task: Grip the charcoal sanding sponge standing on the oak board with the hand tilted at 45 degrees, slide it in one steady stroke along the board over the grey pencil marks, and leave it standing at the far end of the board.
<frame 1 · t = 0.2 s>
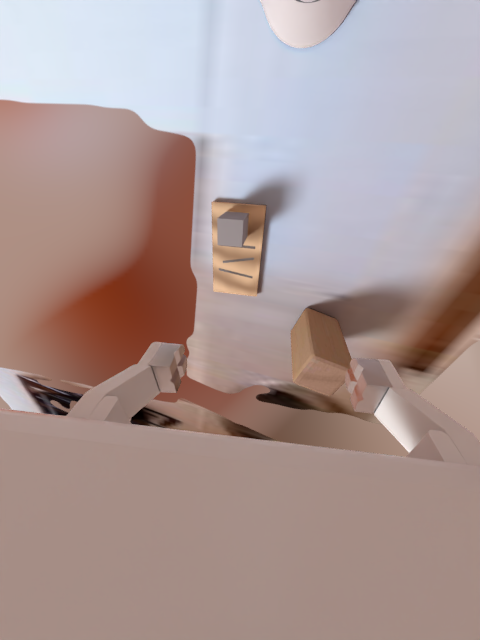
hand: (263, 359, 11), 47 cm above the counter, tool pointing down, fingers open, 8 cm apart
wooden block: (312, 324, 65), on the counter
board: (237, 252, 56), on the counter
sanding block: (237, 223, 51), point 1 cm above the counter, touching board
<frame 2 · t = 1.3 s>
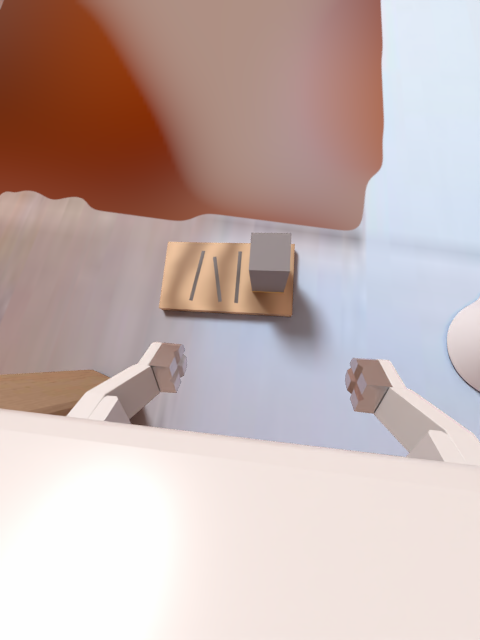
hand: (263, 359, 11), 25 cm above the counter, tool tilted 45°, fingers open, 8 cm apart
wooden block: (104, 406, 37), on the counter
board: (227, 279, 39), on the counter
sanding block: (268, 277, 36), point 1 cm above the counter, touching board
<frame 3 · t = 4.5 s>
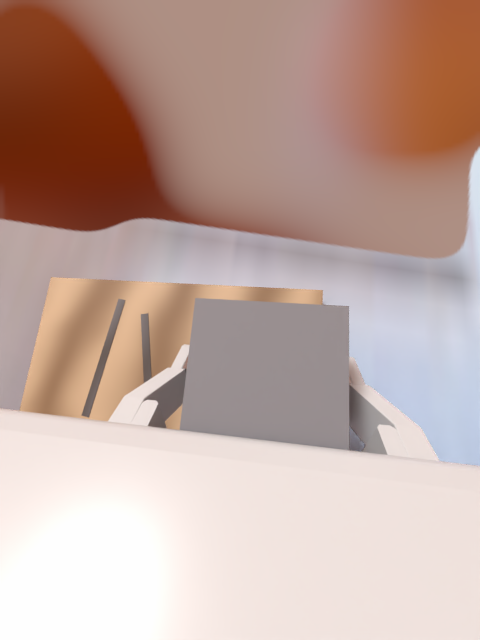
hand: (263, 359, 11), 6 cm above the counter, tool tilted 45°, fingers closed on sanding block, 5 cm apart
board: (175, 360, 18), on the counter
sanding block: (262, 369, 16), point 1 cm above the counter, touching board, gripper
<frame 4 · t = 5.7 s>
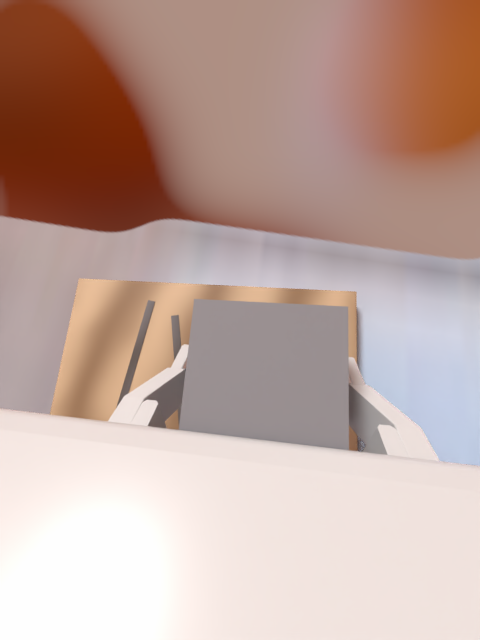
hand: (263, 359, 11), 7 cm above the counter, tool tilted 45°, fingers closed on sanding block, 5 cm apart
board: (204, 362, 18), on the counter
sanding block: (263, 369, 16), point 2 cm above the counter, touching gripper
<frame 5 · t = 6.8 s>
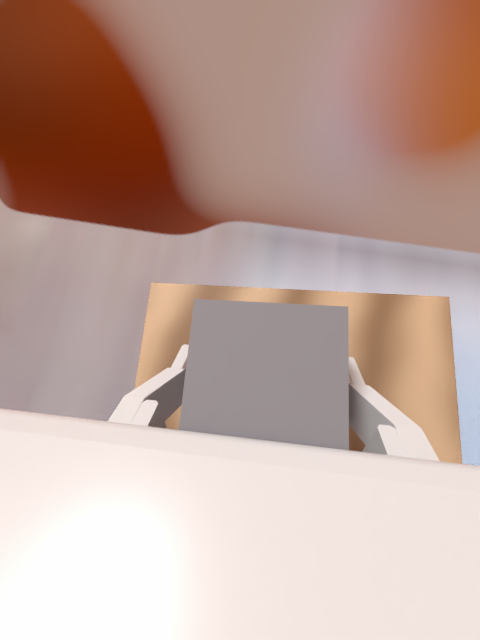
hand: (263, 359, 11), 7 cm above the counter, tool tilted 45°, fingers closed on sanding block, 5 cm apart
board: (283, 369, 17), on the counter
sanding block: (263, 369, 16), point 2 cm above the counter, touching gripper
when the fingers open (7 cm above the counter, at t = 8.0 s): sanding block stays where it is, resting on board.
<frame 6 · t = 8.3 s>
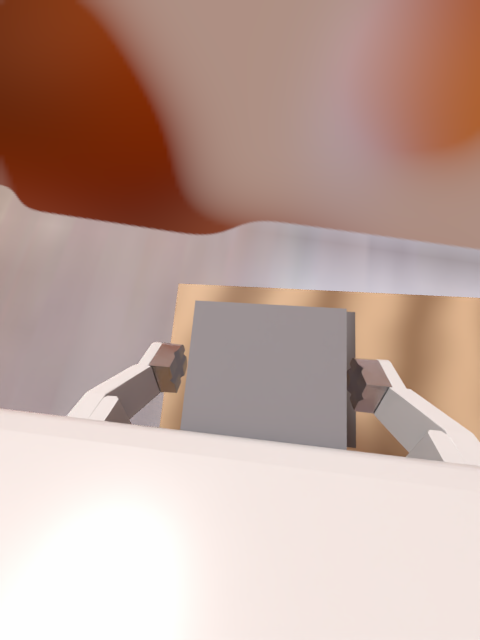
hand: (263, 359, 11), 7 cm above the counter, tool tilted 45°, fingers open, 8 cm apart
board: (315, 372, 17), on the counter
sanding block: (262, 369, 16), point 2 cm above the counter, touching board
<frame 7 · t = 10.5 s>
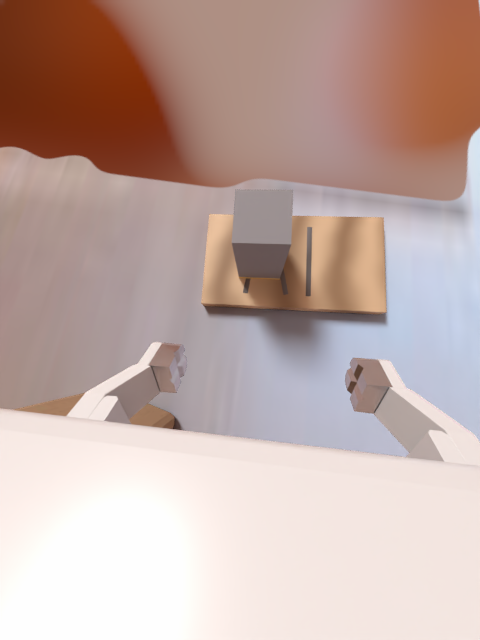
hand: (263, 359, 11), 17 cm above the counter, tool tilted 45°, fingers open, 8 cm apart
wooden block: (128, 437, 28), on the counter
board: (290, 265, 29), on the counter
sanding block: (260, 259, 28), point 2 cm above the counter, touching board
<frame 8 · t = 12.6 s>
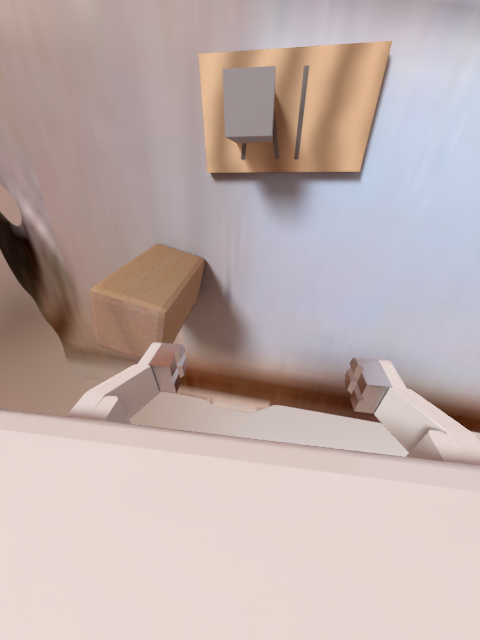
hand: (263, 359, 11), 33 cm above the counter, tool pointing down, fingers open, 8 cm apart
wooden block: (179, 271, 46), on the counter
board: (284, 119, 30), on the counter
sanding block: (254, 118, 30), point 2 cm above the counter, touching board
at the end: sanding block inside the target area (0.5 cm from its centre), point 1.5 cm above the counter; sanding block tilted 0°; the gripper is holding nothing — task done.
